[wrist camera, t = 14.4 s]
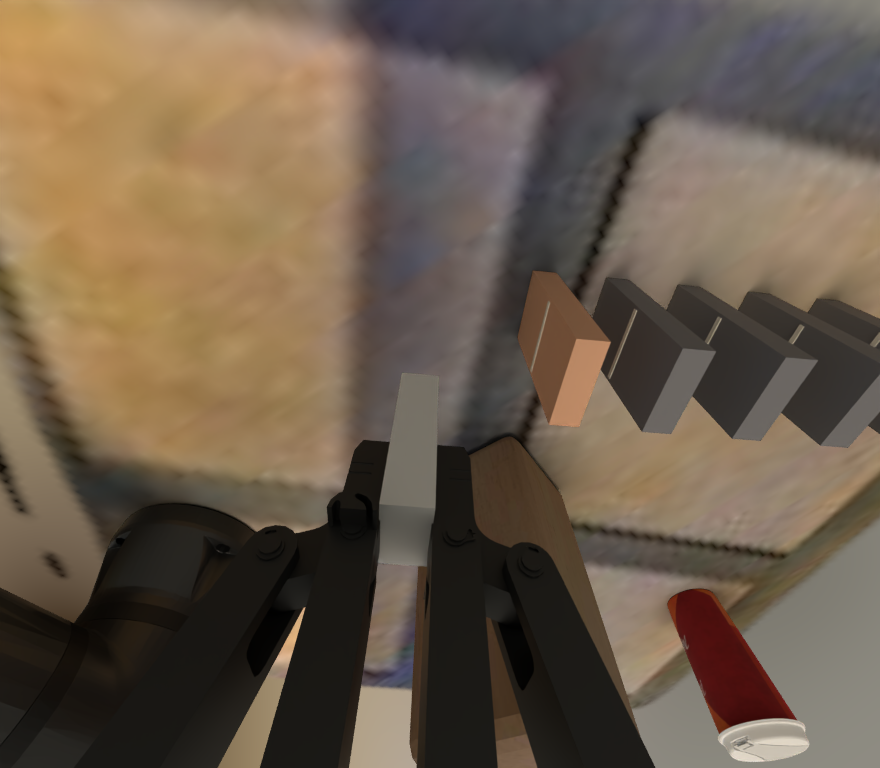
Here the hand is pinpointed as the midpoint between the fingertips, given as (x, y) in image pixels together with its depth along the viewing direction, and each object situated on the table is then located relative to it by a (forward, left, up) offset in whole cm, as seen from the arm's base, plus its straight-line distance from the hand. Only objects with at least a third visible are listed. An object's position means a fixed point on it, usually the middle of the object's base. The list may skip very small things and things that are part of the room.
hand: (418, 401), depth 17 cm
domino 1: (+13, 0, -13) cm, 18 cm away
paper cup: (+36, -36, -13) cm, 52 cm away
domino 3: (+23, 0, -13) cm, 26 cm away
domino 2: (+18, 0, -13) cm, 22 cm away
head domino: (+8, 0, -13) cm, 15 cm away
